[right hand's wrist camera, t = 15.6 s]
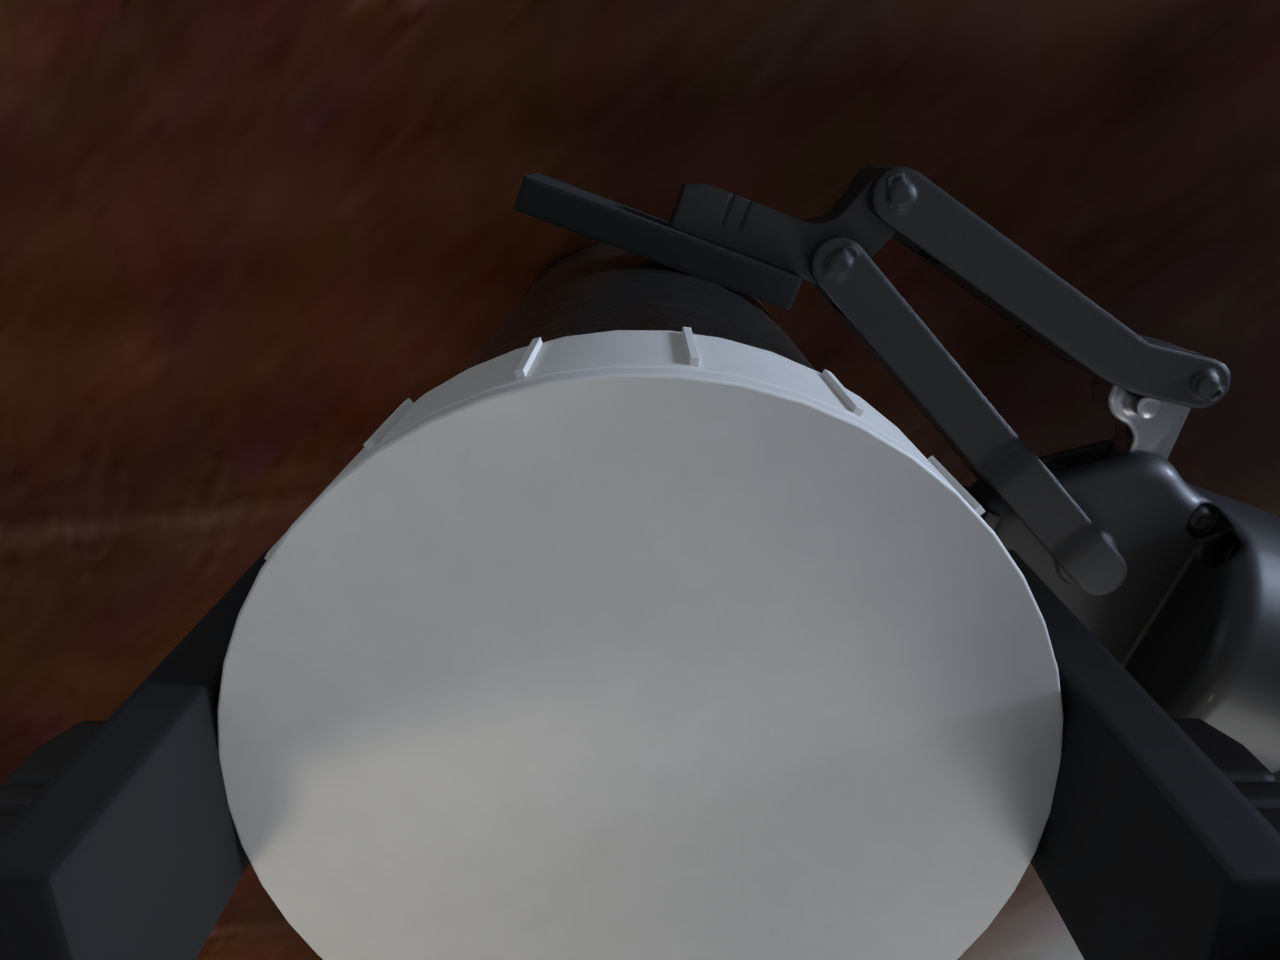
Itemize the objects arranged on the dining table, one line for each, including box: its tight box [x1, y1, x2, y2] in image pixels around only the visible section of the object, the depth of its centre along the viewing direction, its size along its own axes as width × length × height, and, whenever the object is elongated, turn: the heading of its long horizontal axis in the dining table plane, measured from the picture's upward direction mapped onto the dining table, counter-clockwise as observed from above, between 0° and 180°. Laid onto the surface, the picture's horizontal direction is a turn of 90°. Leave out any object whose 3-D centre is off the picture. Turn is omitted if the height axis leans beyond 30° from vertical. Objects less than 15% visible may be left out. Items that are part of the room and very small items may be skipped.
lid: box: [217, 327, 1063, 960], centre depth 12 cm, size 10×10×2 cm
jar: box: [464, 242, 816, 371], centre depth 20 cm, size 9×9×19 cm
